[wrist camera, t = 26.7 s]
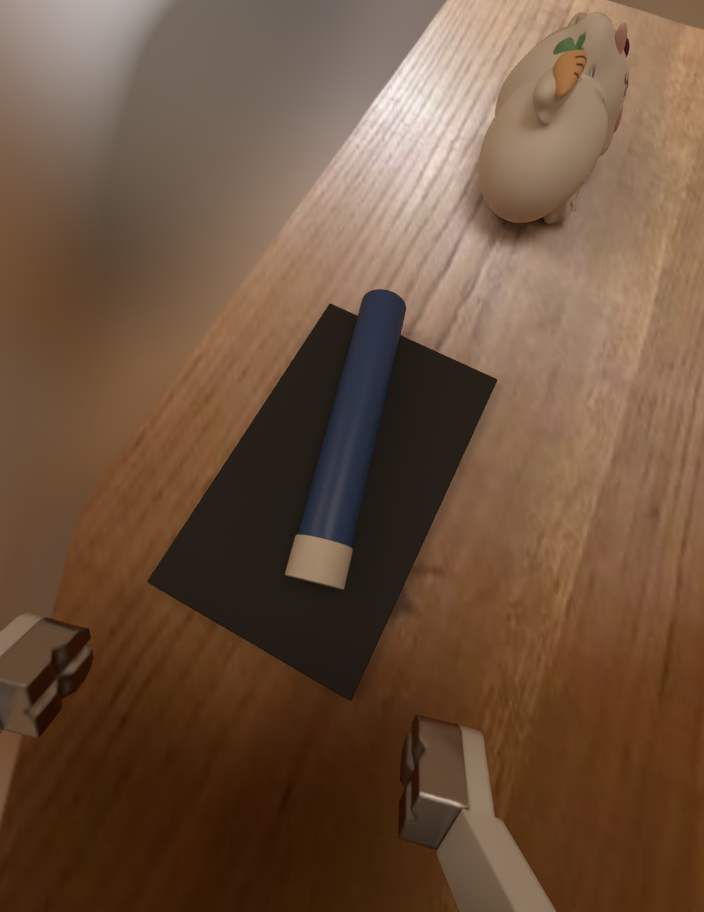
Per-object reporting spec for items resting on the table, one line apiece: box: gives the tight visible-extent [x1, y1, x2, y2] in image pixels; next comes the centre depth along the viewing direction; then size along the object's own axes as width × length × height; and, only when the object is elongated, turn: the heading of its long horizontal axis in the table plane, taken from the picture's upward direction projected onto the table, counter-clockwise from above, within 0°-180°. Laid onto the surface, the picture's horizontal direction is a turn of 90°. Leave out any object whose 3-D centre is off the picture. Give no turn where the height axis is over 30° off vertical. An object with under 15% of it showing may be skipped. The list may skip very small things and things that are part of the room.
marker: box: [285, 289, 406, 590], centre depth 23 cm, size 3×3×17 cm
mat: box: [148, 304, 497, 701], centre depth 24 cm, size 20×12×1 cm, turn 152°
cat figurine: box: [478, 12, 629, 224], centre depth 28 cm, size 10×8×15 cm
